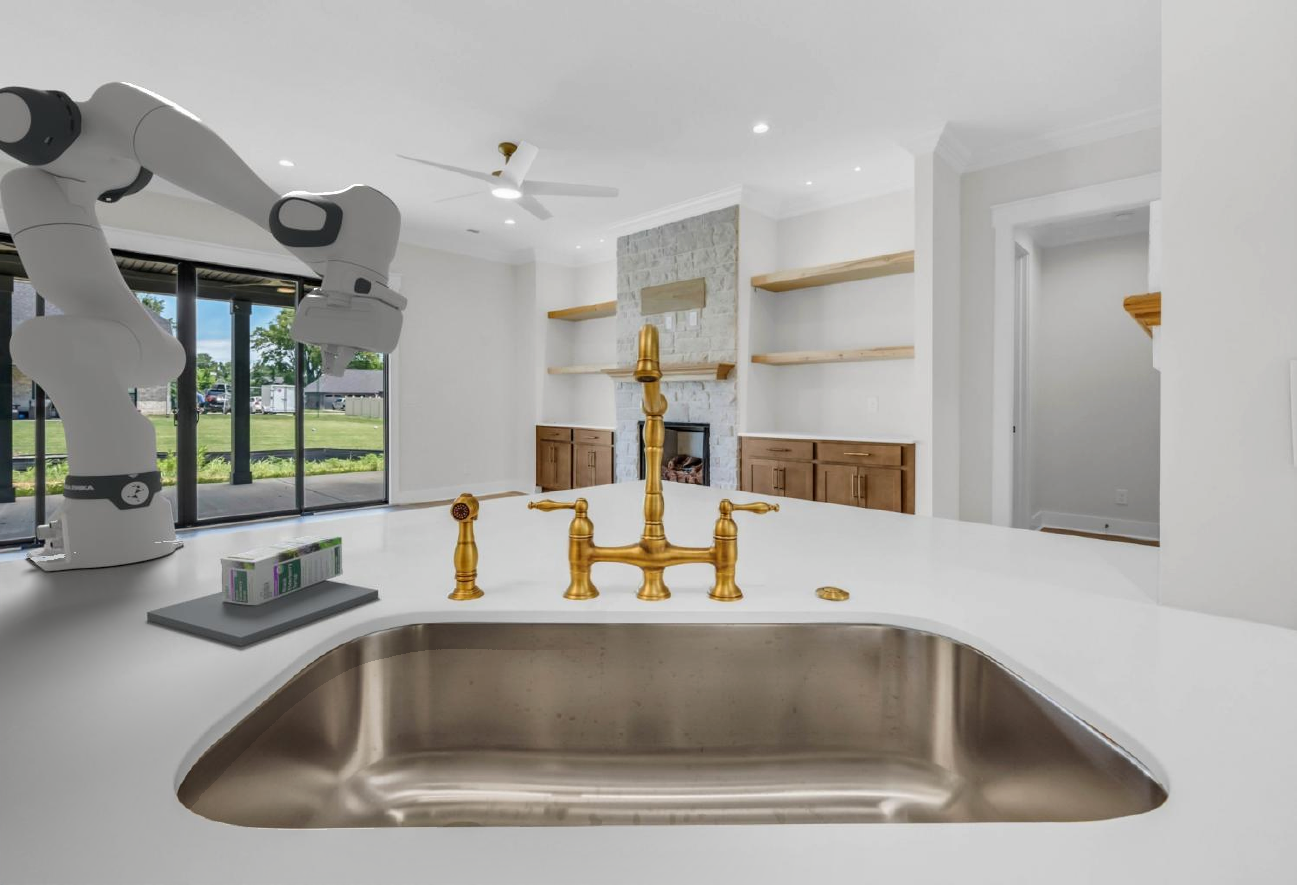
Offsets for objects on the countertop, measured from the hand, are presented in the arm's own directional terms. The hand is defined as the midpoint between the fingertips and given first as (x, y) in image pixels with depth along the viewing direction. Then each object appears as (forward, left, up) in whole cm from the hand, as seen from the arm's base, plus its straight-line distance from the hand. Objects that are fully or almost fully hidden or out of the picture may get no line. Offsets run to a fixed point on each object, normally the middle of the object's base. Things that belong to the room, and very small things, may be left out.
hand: (331, 375), depth 95 cm
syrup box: (+5, -5, -26) cm, 27 cm away
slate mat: (+9, -17, -30) cm, 36 cm away
